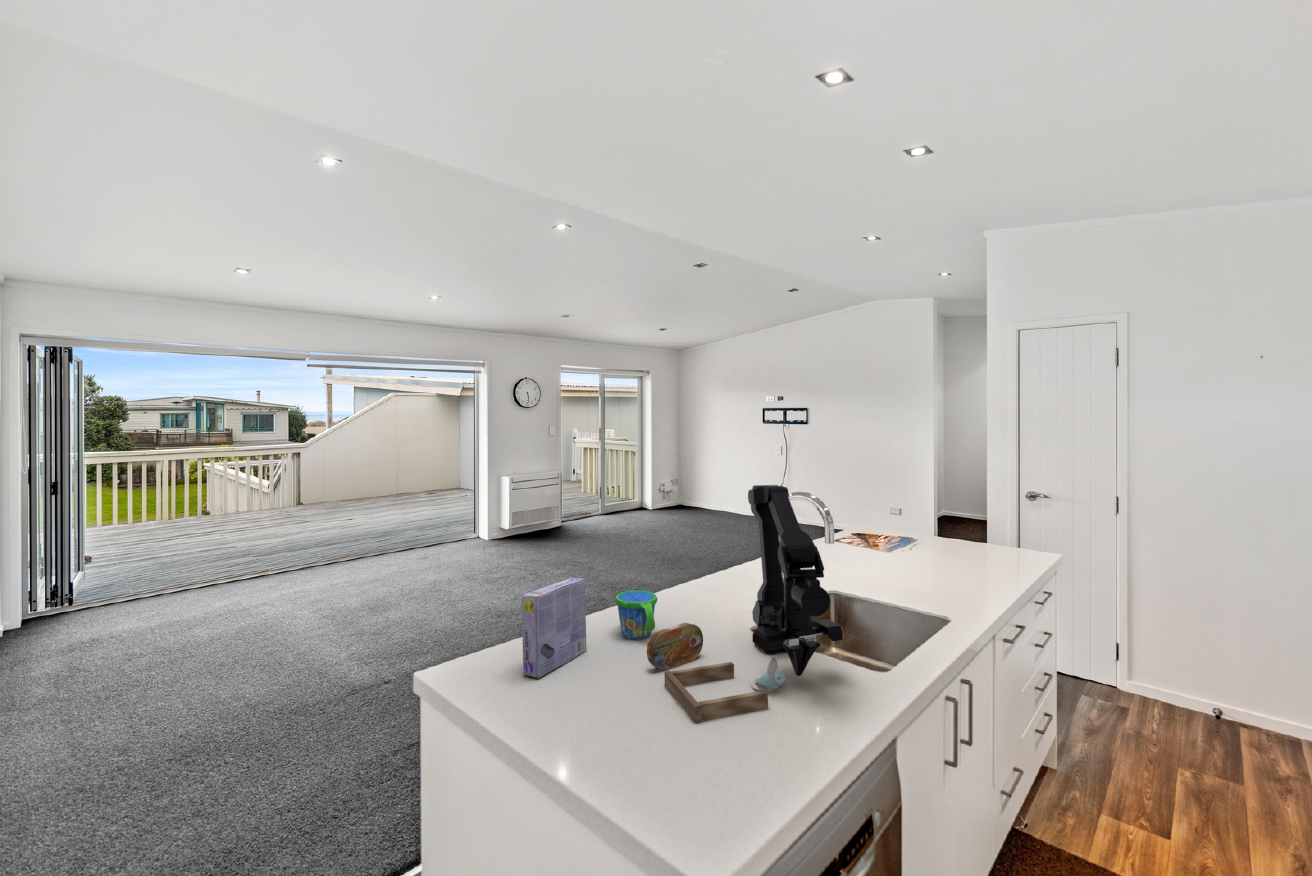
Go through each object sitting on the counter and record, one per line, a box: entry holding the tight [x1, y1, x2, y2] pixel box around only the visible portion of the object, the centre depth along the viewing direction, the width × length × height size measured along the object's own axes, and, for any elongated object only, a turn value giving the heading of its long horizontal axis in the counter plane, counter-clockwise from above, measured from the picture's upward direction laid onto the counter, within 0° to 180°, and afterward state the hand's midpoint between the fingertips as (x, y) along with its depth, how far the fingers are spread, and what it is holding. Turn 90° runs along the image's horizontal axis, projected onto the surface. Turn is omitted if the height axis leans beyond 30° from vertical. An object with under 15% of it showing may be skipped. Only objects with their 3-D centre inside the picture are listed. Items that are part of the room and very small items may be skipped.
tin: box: [646, 622, 704, 671], centre depth 132 cm, size 15×3×8 cm, turn 128°
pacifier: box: [751, 657, 786, 692], centre depth 120 cm, size 7×6×6 cm
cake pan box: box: [521, 577, 587, 679], centre depth 133 cm, size 19×5×18 cm, turn 152°
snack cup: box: [614, 590, 658, 640], centre depth 150 cm, size 16×10×10 cm
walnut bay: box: [663, 661, 769, 724], centre depth 115 cm, size 15×16×3 cm
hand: (798, 675), depth 121 cm, fingers closed
